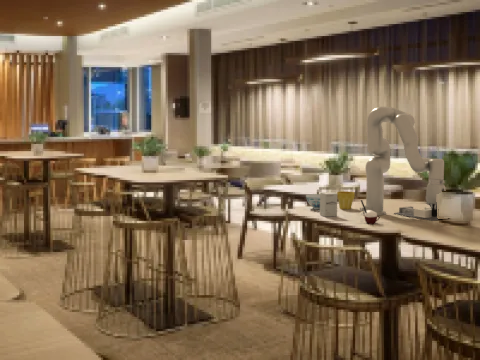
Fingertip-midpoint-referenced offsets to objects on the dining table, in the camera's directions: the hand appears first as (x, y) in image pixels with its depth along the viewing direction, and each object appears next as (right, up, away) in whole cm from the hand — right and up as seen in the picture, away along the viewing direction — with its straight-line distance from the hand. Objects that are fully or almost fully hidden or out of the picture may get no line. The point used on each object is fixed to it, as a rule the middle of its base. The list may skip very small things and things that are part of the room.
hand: (434, 216), depth 321 cm
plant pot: (-41, +2, +39) cm, 56 cm away
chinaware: (-57, +2, +38) cm, 68 cm away
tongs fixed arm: (-6, 0, +14) cm, 16 cm away
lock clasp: (-3, 0, +5) cm, 6 cm away
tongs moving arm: (-7, 0, +12) cm, 14 cm away
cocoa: (-37, -3, -12) cm, 39 cm away
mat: (-4, -1, +10) cm, 11 cm away
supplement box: (-55, -1, +12) cm, 56 cm away
